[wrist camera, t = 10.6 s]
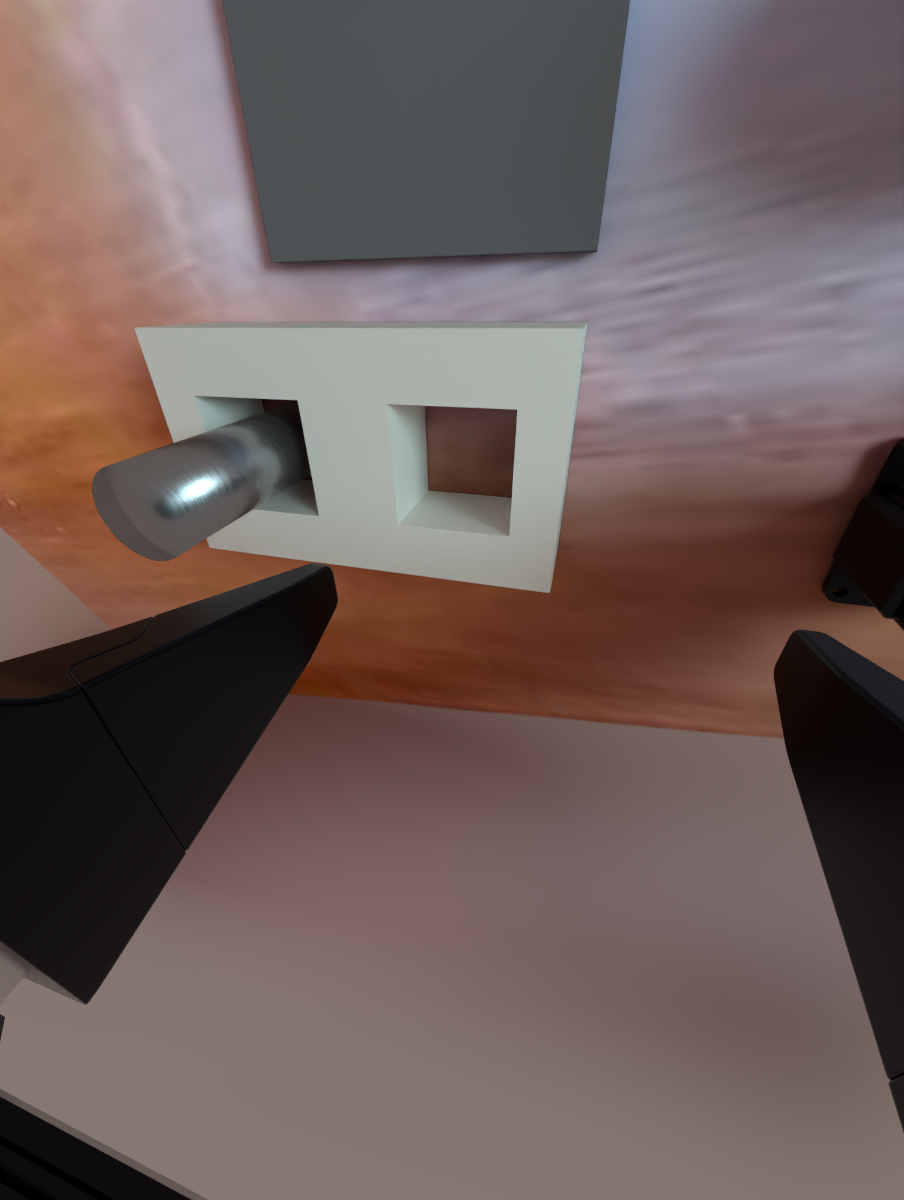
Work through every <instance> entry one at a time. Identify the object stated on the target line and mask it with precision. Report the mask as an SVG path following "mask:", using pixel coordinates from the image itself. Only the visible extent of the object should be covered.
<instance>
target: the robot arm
mask: <svg viewBox="0 0 904 1200" xmlns="http://www.w3.org/2000/svg"><path fill="white" fill-rule="evenodd" d="M833 559H834V560H835V562H834V564H833V565H832V567H831V569H830V571H829V573H828V575H827V577H826V579H825V581H824V583H823V585H822V589H821V590H822V592H823V594H824V595H825V597H826V598H827V599H828V600H830V601H833V602H838V603H846V604H855V605H863V606H871V607H875V608H876V609H877V610H878V611H879V613H880V614H881V615H882V616H883V617H885V618H887V619H894V621H895V622H896V623H897V624H898V625H899V626H900V627H901V628H902V629H903V631H904V439H902V440H901V441H900V442H898V443H897V444H896V445H895V447H894V448H893V449H892V451H891V453H890V455H889V457H888V459H887V461H886V463H885V465H884V467H883V469H882V471H881V473H880V475H879V476H878V478H877V480H876V482H875V484H874V486H873V488H872V490H871V492H870V494H868V495H867V496H865V497H864V498H863V499H862V500H861V501H860V503H859V505H858V507H857V509H856V511H855V513H854V515H853V517H852V519H851V521H850V523H849V525H848V527H847V529H846V531H845V533H844V535H843V537H842V539H841V540H840V542H839V544H838V546H837V548H836V550H835V552H834V554H833ZM841 586H844V588H843V589H842V590H840V591H838V592H833V590H834V589H835V588H837V587H841ZM337 601H338V597H337V591H336V585H335V580H334V574H333V570H332V568H331V567H330V566H328V565H323V564H316V563H312V564H308V565H305V566H302V567H299V568H296V569H293V570H290V571H287V572H284V573H281V574H278V575H275V576H272V577H269V578H266V579H263V580H260V581H257V582H254V583H251V584H248V585H245V586H242V587H239V588H236V589H233V590H230V591H227V592H224V593H221V594H218V595H215V596H212V597H209V598H206V599H203V600H200V601H197V602H194V603H191V604H188V605H185V606H182V607H179V608H176V609H173V610H170V611H167V612H164V613H161V614H158V615H156V616H155V617H154V618H153V617H149V618H146V619H143V620H140V621H137V622H134V623H131V624H128V625H125V626H122V627H119V628H115V629H112V630H109V631H106V632H103V633H100V634H96V635H93V636H89V637H86V638H83V639H79V640H76V641H73V642H70V643H66V644H62V645H59V646H55V647H52V648H48V649H45V650H41V651H38V652H35V653H31V654H27V655H24V656H20V657H17V658H13V659H10V660H7V661H3V662H0V1006H1V1005H2V1003H3V1002H4V1001H5V1000H6V999H7V998H8V996H9V995H10V994H11V993H12V992H13V991H14V989H15V988H16V987H17V986H18V985H19V984H20V982H21V981H22V980H23V979H24V978H26V979H29V980H31V981H33V982H35V983H38V984H40V985H42V986H44V987H47V988H49V989H51V990H53V991H55V992H58V993H60V994H62V995H65V996H67V997H69V998H71V999H73V1000H76V1001H78V1002H80V1003H82V1004H85V1005H86V1004H87V1003H88V1002H89V1001H90V1000H91V998H92V997H93V996H94V994H95V993H96V992H97V990H98V989H99V987H100V986H101V984H102V983H103V981H104V980H105V978H106V977H107V975H108V973H109V972H110V970H111V969H112V967H113V966H114V964H115V963H116V961H117V959H118V958H119V956H120V955H121V953H122V952H123V950H124V949H125V947H126V945H127V944H128V942H129V941H130V939H131V938H132V936H133V935H134V933H135V931H136V930H137V928H138V927H139V925H140V924H141V922H142V921H143V919H144V917H145V916H146V914H147V913H148V911H149V910H150V908H151V907H152V905H153V904H154V902H155V900H156V899H157V897H158V896H159V894H160V893H161V891H162V889H163V888H164V886H165V885H166V883H167V882H168V880H169V879H170V877H171V876H172V874H173V873H174V871H175V869H176V868H177V866H178V865H179V863H180V862H181V860H182V859H183V857H184V855H185V854H186V852H185V851H187V850H188V849H189V847H190V846H191V844H192V843H193V841H194V839H195V838H196V836H197V835H198V833H199V832H200V830H201V829H202V827H203V825H204V824H205V822H206V821H207V819H208V817H209V816H210V815H211V813H212V812H213V810H214V808H215V807H216V805H217V804H218V802H219V801H220V799H221V797H222V796H223V794H224V793H225V791H226V790H227V788H228V786H229V785H230V784H231V782H232V780H233V779H234V777H235V775H236V774H237V772H238V771H239V770H240V768H241V767H242V765H243V763H244V762H245V760H246V759H247V757H248V756H249V754H250V753H251V751H252V749H253V748H254V746H255V745H256V743H257V742H258V740H259V739H260V737H261V735H262V734H263V732H264V731H265V729H266V728H267V726H268V725H269V723H270V722H271V720H272V718H273V717H274V715H275V714H276V712H277V711H278V709H279V708H280V706H281V704H282V703H283V701H284V700H285V698H286V697H287V695H288V694H289V692H290V690H291V689H292V687H293V686H294V684H295V683H296V681H297V680H298V678H299V677H300V675H301V673H302V672H303V670H304V669H305V667H306V665H307V664H308V662H309V660H310V659H311V657H312V655H313V653H314V651H315V649H316V647H317V645H318V643H319V641H320V639H321V637H322V635H323V633H324V631H325V629H326V627H327V625H328V623H329V621H330V619H331V617H332V615H333V613H334V611H335V609H336V606H337ZM774 682H775V688H776V694H777V700H778V706H779V712H780V717H781V723H782V729H783V735H784V741H785V745H786V750H787V754H788V758H789V761H790V765H791V768H792V772H793V775H794V778H795V781H796V784H797V788H798V791H799V794H800V797H801V801H802V804H803V807H804V810H805V814H806V817H807V820H808V823H809V827H810V830H811V833H812V836H813V839H814V842H815V846H816V849H817V852H818V855H819V859H820V862H821V865H822V869H823V872H824V875H825V878H826V881H827V885H828V888H829V891H830V894H831V898H832V901H833V904H834V907H835V911H836V914H837V917H838V920H839V923H840V926H841V930H842V933H843V936H844V940H845V943H846V946H847V949H848V953H849V956H850V959H851V962H852V965H853V969H854V972H855V975H856V978H857V982H858V985H859V988H860V991H861V994H862V997H863V1001H864V1004H865V1007H866V1010H867V1014H868V1017H869V1020H870V1024H871V1027H872V1030H873V1033H874V1037H875V1040H876V1043H877V1046H878V1049H879V1053H880V1056H881V1059H882V1062H883V1066H884V1069H885V1072H886V1075H887V1077H888V1078H889V1079H890V1081H889V1087H890V1090H891V1093H892V1096H893V1100H894V1103H895V1106H896V1109H897V1113H898V1116H899V1119H900V1122H901V1125H902V1128H903V1132H904V681H902V680H901V679H899V678H898V677H896V676H894V675H893V674H891V673H889V672H888V671H886V670H884V669H883V668H881V667H879V666H878V665H876V664H875V663H873V662H871V661H870V660H868V659H866V658H865V657H863V656H861V655H860V654H858V653H856V652H855V651H853V650H852V649H850V648H848V647H847V646H845V645H843V644H842V643H840V642H838V641H837V640H835V639H833V638H832V637H830V636H829V635H827V634H825V633H821V632H815V631H808V630H796V631H794V632H793V633H792V634H791V635H790V637H789V639H788V641H787V643H786V645H785V647H784V649H783V651H782V653H781V655H780V657H779V659H778V661H777V663H776V665H775V668H774ZM4 1019H5V1017H4V1016H2V1015H0V1039H1V1034H2V1029H3V1024H4ZM0 1200H207V1199H206V1198H204V1197H202V1196H200V1195H198V1194H196V1193H194V1192H192V1191H191V1190H189V1189H187V1188H185V1187H183V1186H181V1185H179V1184H178V1183H176V1182H174V1181H172V1180H170V1179H168V1178H166V1177H164V1176H162V1175H161V1174H159V1173H157V1172H155V1171H153V1170H151V1169H149V1168H147V1167H145V1166H144V1165H142V1164H140V1163H138V1162H136V1161H134V1160H133V1159H131V1158H129V1157H127V1156H125V1155H123V1154H121V1153H119V1152H117V1151H116V1150H114V1149H112V1148H110V1147H108V1146H106V1145H104V1144H102V1143H101V1142H99V1141H97V1140H95V1139H93V1138H91V1137H89V1136H87V1135H86V1134H83V1133H82V1132H80V1131H78V1130H76V1129H74V1128H72V1127H71V1126H69V1125H67V1124H65V1123H63V1122H61V1121H59V1120H57V1119H55V1118H54V1117H52V1116H50V1115H48V1114H46V1113H44V1112H42V1111H40V1110H39V1109H37V1108H35V1107H33V1106H31V1105H29V1104H27V1103H25V1102H23V1101H22V1100H20V1099H18V1098H16V1097H14V1096H12V1095H11V1094H8V1093H7V1092H5V1091H3V1090H1V1089H0Z"/></svg>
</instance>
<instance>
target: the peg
mask: <svg viewBox="0 0 904 1200" xmlns="http://www.w3.org/2000/svg"><path fill="white" fill-rule="evenodd" d="M310 474H311V470H310V465H309V459H308V454H307V448H306V443H305V438H304V432H303V427H302V421H301V416H300V411H299V405H298V400H297V401H294V402H291V403H288V404H285V405H282V406H280V407H277V408H274V409H271V410H268V411H265V412H262V413H259V414H256V415H253V416H251V417H248V418H245V419H242V420H239V421H236V422H233V423H230V424H227V425H224V426H222V427H219V428H216V429H213V430H210V431H207V432H204V433H201V434H198V435H195V436H193V437H190V438H187V439H184V440H181V441H178V442H175V443H172V444H169V445H167V446H164V447H161V448H158V449H155V450H152V451H149V452H146V453H143V454H140V455H138V456H135V457H132V458H129V459H126V460H123V461H120V462H117V463H114V464H111V465H109V466H106V467H103V468H102V469H100V470H99V471H98V472H97V473H96V475H95V477H94V479H93V484H92V492H93V498H94V502H95V505H96V507H97V510H98V512H99V514H100V516H101V518H102V519H103V521H104V522H105V524H106V525H107V527H108V528H109V529H110V530H111V532H112V533H113V534H114V535H115V536H116V537H117V538H118V539H119V540H120V541H121V542H122V543H123V544H124V545H126V546H127V547H128V548H130V549H131V550H133V551H134V552H136V553H137V554H139V555H141V556H143V557H146V558H148V559H151V560H156V561H168V560H171V559H173V558H175V557H177V556H179V555H180V554H182V553H183V552H185V551H187V550H188V549H190V548H192V547H193V546H195V545H196V544H198V543H200V542H201V541H203V540H205V539H206V538H208V537H209V536H211V535H213V534H214V533H216V532H218V531H219V530H221V529H222V528H224V527H226V526H227V525H229V524H231V523H232V522H234V521H236V520H237V519H239V518H240V517H242V516H244V515H245V514H247V513H249V512H250V511H252V510H253V509H255V508H257V507H258V506H260V505H262V504H263V503H265V502H266V501H268V500H270V499H271V498H273V497H275V496H276V495H278V494H280V493H281V492H283V491H284V490H286V489H288V488H289V487H291V486H293V485H294V484H296V483H297V482H299V481H301V480H302V479H304V478H306V477H307V476H309V475H310Z"/></svg>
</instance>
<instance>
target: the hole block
mask: <svg viewBox="0 0 904 1200" xmlns="http://www.w3.org/2000/svg"><path fill="white" fill-rule="evenodd" d="M587 323H588V322H321V323H198V324H183V325H168V326H153V327H138V328H135V331H136V334H137V337H138V340H139V343H140V346H141V349H142V352H143V355H144V358H145V361H146V363H147V366H148V369H149V372H150V375H151V378H152V381H153V384H154V387H155V390H156V393H157V396H158V398H159V401H160V404H161V407H162V410H163V413H164V416H165V419H166V422H167V425H168V428H169V431H170V434H171V436H172V439H173V442H174V443H175V442H178V441H181V440H184V439H187V438H190V437H193V436H195V435H198V434H201V433H204V432H207V431H210V430H213V429H216V428H219V427H222V426H224V425H227V424H230V423H233V422H236V421H239V420H242V419H245V418H248V417H251V416H253V415H256V414H259V413H262V412H264V407H263V403H262V399H280V400H298V405H299V411H300V416H301V421H302V427H303V432H304V438H305V443H306V448H307V454H308V459H309V465H310V470H311V475H312V480H303V479H302V480H301V481H299V482H297V483H296V484H294V485H293V486H291V487H289V488H288V489H286V490H284V491H283V492H281V493H280V494H278V495H276V496H275V497H273V498H271V499H270V500H268V501H266V502H265V503H263V504H262V505H260V506H258V507H257V508H255V509H253V510H252V511H250V512H249V513H247V514H245V515H244V516H242V517H240V518H239V519H237V520H236V521H234V522H232V523H231V524H229V525H227V526H226V527H224V528H222V529H221V530H219V531H218V532H216V533H214V534H213V535H211V536H209V537H208V538H206V539H207V542H208V544H209V547H210V548H215V549H222V550H230V551H237V552H245V553H252V554H260V555H267V556H275V557H282V558H290V559H297V560H305V561H312V562H320V563H327V564H335V565H342V566H350V567H357V568H365V569H373V570H380V571H388V572H395V573H403V574H410V575H418V576H425V577H433V578H440V579H448V580H455V581H463V582H470V583H478V584H485V585H493V586H500V587H508V588H515V589H523V590H530V591H538V592H545V593H550V590H551V584H552V579H553V573H554V567H555V562H556V556H557V551H558V544H559V536H560V529H561V521H562V514H563V506H564V498H565V491H566V483H567V475H568V468H569V460H570V453H571V445H572V437H573V430H574V422H575V415H576V407H577V399H578V392H579V384H580V376H581V369H582V361H583V354H584V346H585V338H586V331H587ZM425 406H444V407H468V408H491V409H515V410H517V425H516V440H515V456H514V471H513V487H512V498H509V497H498V496H487V495H475V494H464V493H452V492H441V491H429V490H428V467H427V443H426V419H425Z"/></svg>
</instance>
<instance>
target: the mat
mask: <svg viewBox="0 0 904 1200" xmlns="http://www.w3.org/2000/svg"><path fill="white" fill-rule="evenodd" d="M222 1H223V6H224V12H225V17H226V22H227V28H228V33H229V39H230V44H231V49H232V55H233V60H234V65H235V71H236V76H237V81H238V87H239V92H240V98H241V103H242V108H243V114H244V119H245V124H246V130H247V135H248V140H249V146H250V151H251V157H252V162H253V167H254V173H255V178H256V183H257V189H258V194H259V199H260V205H261V210H262V216H263V221H264V226H265V232H266V237H267V242H268V248H269V253H270V258H271V262H276V263H291V262H319V261H347V260H375V259H403V258H431V257H459V256H487V255H515V254H543V253H571V252H597V247H598V239H599V232H600V224H601V216H602V209H603V201H604V193H605V186H606V178H607V171H608V163H609V155H610V148H611V140H612V132H613V125H614V117H615V110H616V102H617V94H618V87H619V79H620V72H621V64H622V56H623V49H624V41H625V33H626V26H627V18H628V11H629V3H630V0H222Z"/></svg>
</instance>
